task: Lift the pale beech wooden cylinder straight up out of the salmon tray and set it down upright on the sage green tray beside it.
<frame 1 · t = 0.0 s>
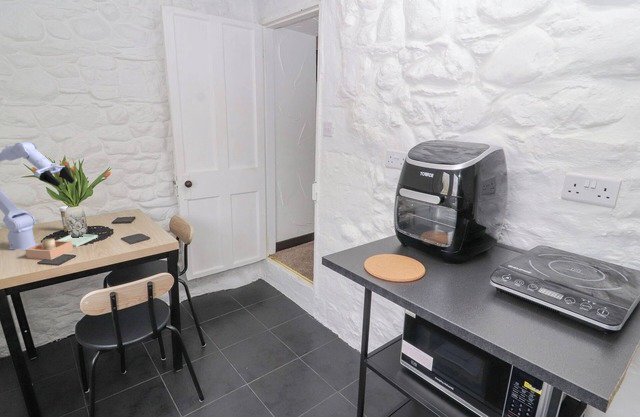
hand: (66, 183, 156), 32 cm above the table, tool tilted 50°, fingers open, 7 cm apart
salmon tray: (51, 254, 160), on the table
beech cylinder: (50, 253, 160), resting on salmon tray
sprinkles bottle: (68, 230, 192), on the table
sage tray: (75, 241, 176), on the table
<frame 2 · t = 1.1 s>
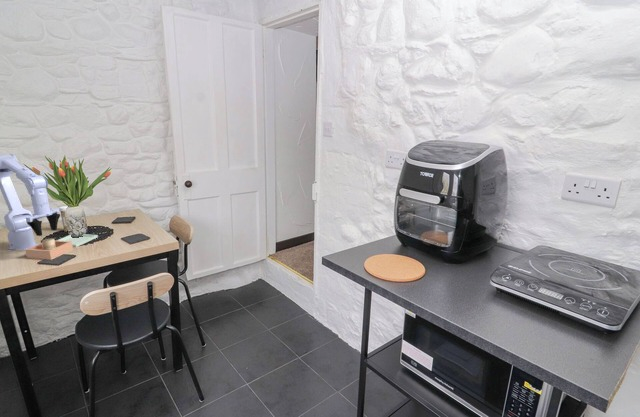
hand: (46, 232, 157), 11 cm above the table, tool pointing down, fingers open, 7 cm apart
nothing on the table moved.
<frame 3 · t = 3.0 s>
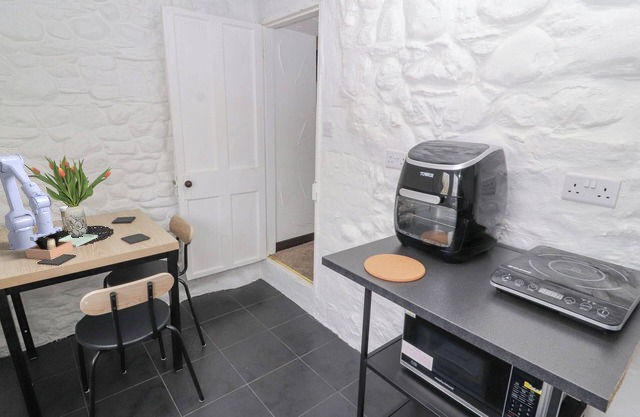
hand: (50, 250, 160), 2 cm above the table, tool pointing down, fingers closed on beech cylinder, 5 cm apart
beech cylinder: (50, 253, 160), resting on salmon tray, touching gripper
everything else where it was.
when the fingers open (4 cm above the table, at t = 7.2 s): beech cylinder drops 1 cm, resting on sage tray.
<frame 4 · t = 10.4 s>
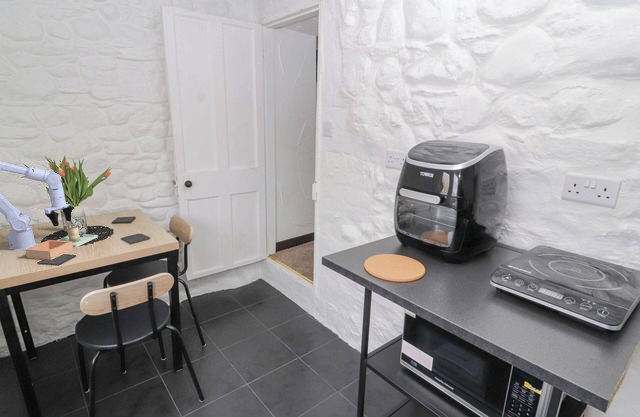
hand: (62, 223, 174), 9 cm above the table, tool pointing down, fingers open, 7 cm apart
beech cylinder: (75, 240, 175), point 1 cm above the table, touching sage tray
everything else where it was.
at the end: beech cylinder inside the target area on the sage tray (0.1 cm from its centre), point 0.7 cm above the sage tray's base; beech cylinder tilted 2°; the gripper is holding nothing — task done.
